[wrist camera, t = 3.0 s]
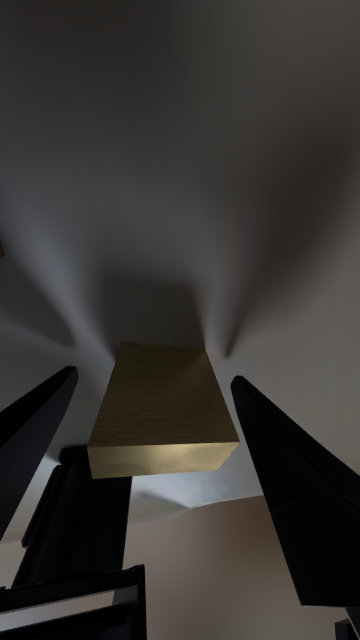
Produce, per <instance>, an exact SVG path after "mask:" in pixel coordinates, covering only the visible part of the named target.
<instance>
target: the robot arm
mask: <svg viewBox="0 0 360 640" xmlns="http://www.w3.org/2000/svg"><path fill="white" fill-rule="evenodd" d="M77 382H78V372H77V367H76V366H66V367H64V368H63V369H61V370H60V371H59V372H57V373H56V374H54V375H53V376H51V377H50V378H49V379H47V380H46V381H44V382H43V383H41V384H40V385H38V386H37V387H36V388H34V389H33V390H31V391H30V392H28V393H27V394H25V395H24V396H23V397H21V398H20V399H18V400H17V401H15V402H14V403H13V404H11V405H10V406H8V407H7V408H5V409H4V410H2V411H1V412H0V541H1V539H2V537H3V535H4V533H5V531H6V529H7V527H8V525H9V523H10V521H11V519H12V517H13V515H14V513H15V511H16V509H17V507H18V505H19V503H20V501H21V499H22V497H23V495H24V493H25V492H26V490H27V488H28V486H29V484H30V482H31V480H32V478H33V476H34V474H35V472H36V470H37V468H38V466H39V464H40V462H41V460H42V458H43V456H44V454H45V452H46V450H47V448H48V446H49V444H50V442H51V440H52V438H53V436H54V434H55V432H56V431H57V429H58V427H59V425H60V423H61V421H62V419H63V417H64V415H65V413H66V410H67V408H68V405H69V402H70V400H71V397H72V395H73V392H74V389H75V387H76V384H77ZM231 391H232V396H233V400H234V404H235V409H236V412H237V416H238V419H239V422H240V425H241V428H242V431H243V434H244V437H245V440H246V443H247V446H248V449H249V452H250V455H251V458H252V461H253V464H254V467H255V470H256V473H257V475H258V478H259V481H260V484H261V487H262V490H263V493H264V496H265V499H266V502H267V505H268V508H269V511H270V514H271V517H272V520H273V524H274V527H275V529H276V532H277V535H278V538H279V541H280V544H281V548H282V550H283V553H284V556H285V559H286V562H287V565H288V568H289V571H290V574H291V577H292V580H293V583H294V586H295V589H296V592H297V595H298V598H299V601H300V603H301V605H302V606H316V607H343V608H344V610H345V612H346V614H347V616H348V618H347V619H345V620H342V621H338V622H336V623H335V634H336V640H360V476H359V475H358V474H357V473H355V472H354V471H353V470H352V469H350V468H349V467H348V466H347V465H345V464H344V463H343V462H342V461H340V460H339V459H338V458H337V457H335V456H334V455H333V454H332V453H330V452H329V451H328V450H327V449H326V448H324V447H323V446H322V445H321V444H319V443H318V442H317V441H316V440H315V439H314V438H312V437H311V436H310V435H309V434H308V433H307V432H306V431H304V430H303V429H302V428H301V427H300V426H299V425H298V424H296V423H295V422H294V421H293V420H292V419H291V418H290V417H289V416H287V415H286V414H285V413H284V412H283V411H282V410H281V409H279V408H278V407H277V406H276V405H275V404H274V403H273V402H271V401H270V400H269V399H268V398H267V397H266V396H265V395H264V394H262V393H261V392H260V391H259V390H258V389H257V388H256V387H254V386H253V385H252V384H251V383H250V382H249V381H248V380H247V379H245V378H244V377H243V376H238V375H237V376H235V377H234V379H233V381H232V383H231ZM58 457H59V460H60V462H61V465H57V466H56V467H55V468H54V469H53V471H52V473H51V476H50V478H49V480H48V482H47V485H46V487H45V489H44V491H43V494H42V496H41V498H40V500H39V503H38V505H37V507H36V509H35V512H34V514H33V516H32V518H31V521H30V523H29V525H28V528H27V530H26V532H25V534H24V537H23V539H22V541H21V543H22V547H23V548H25V549H26V552H25V555H24V557H23V560H22V562H21V564H20V567H19V570H18V572H17V574H16V577H15V579H14V581H13V584H12V586H11V589H6V586H4V587H0V614H5V613H10V612H15V611H20V610H25V609H29V608H34V607H38V606H44V605H49V604H54V603H58V602H63V601H68V600H73V599H78V598H83V597H88V596H93V595H97V594H102V593H107V592H112V591H114V597H113V603H112V605H111V606H107V607H103V608H99V609H94V610H91V611H86V612H82V613H77V614H73V615H69V616H64V617H60V618H56V619H52V620H48V621H43V622H39V623H35V624H31V625H26V626H22V627H18V628H13V629H9V630H5V631H0V640H147V628H146V598H145V597H146V594H145V567H144V564H140V565H136V566H133V567H131V568H129V569H126V570H122V567H123V558H124V549H125V539H126V531H127V522H128V513H129V504H130V495H131V486H132V477H133V476H126V477H112V478H99V479H92V473H91V468H90V462H89V456H88V451H87V447H85V448H64V449H62V450H61V451H60V454H59V456H58Z"/></svg>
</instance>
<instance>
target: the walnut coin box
mask: <svg viewBox="0 0 360 640" xmlns="http://www.w3.org/2000/svg"><path fill="white" fill-rule="evenodd" d="M0 256H4V253H3V250H2V247H1V244H0Z"/></svg>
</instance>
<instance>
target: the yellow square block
mask: <svg viewBox="0 0 360 640" xmlns="http://www.w3.org/2000/svg"><path fill="white" fill-rule="evenodd" d="M239 443H240V440H239V437H238V435H237V432H236V429H235V427H234V424H233V421H232V419H231V416H230V413H229V411H228V408H227V405H226V403H225V400H224V397H223V395H222V392H221V389H220V387H219V384H218V381H217V379H216V376H215V373H214V371H213V368H212V365H211V363H210V360H209V357H208V355H207V352H206V350H205V349H199V348H187V347H176V346H165V345H154V344H143V343H132V342H122V344H121V347H120V350H119V353H118V356H117V359H116V362H115V365H114V368H113V371H112V374H111V377H110V380H109V383H108V386H107V389H106V392H105V395H104V398H103V401H102V404H101V407H100V410H99V413H98V416H97V419H96V422H95V425H94V428H93V431H92V434H91V437H90V440H89V443H88V446H87V451H88V456H89V462H90V468H91V473H92V479H99V478H112V477H126V476H140V475H153V474H167V473H181V472H194V471H208V470H218V469H219V468H220V466H221V465H222V464H223V463H224V461H225V460H226V459H227V458H228V457H229V455H230V454H231V453H232V452H233V450H234V449H235V448H236V447H237V446H238V444H239Z"/></svg>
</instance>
